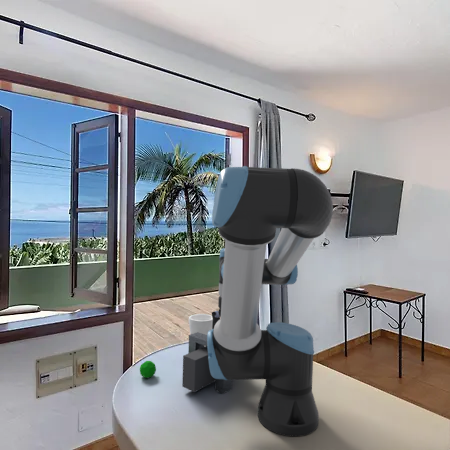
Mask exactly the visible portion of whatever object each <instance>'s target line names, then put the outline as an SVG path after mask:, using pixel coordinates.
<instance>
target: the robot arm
mask: <svg viewBox="0 0 450 450" xmlns="http://www.w3.org/2000/svg"><path fill="white" fill-rule="evenodd" d="M212 206H213V207H212V214H211V216H212V217H211V224H212V226H213V227H216V228H218V234H219V236H220V237H221V238H222V239H223V240H224V242H225V243H224V247H223V248H221V249H220V250H219V258H218V260H219V263H218V264H219V265H218V266H219V268H218V269H219V273H218V274H219V276H218V279H219V281H218V295H219V296H218V300H217V301H218V304H217V305H218V308H219V309H218V310H214V311H212V312H211V316H212V318H213V323H212V330H209V331H208V334H207V346H208V360H209V369H210V373H211V376H212V377H213V378H215V379H225V380H232V381H234V380H235V381H236V380H237V381H239V380H240V381H241V380H243V381H244V380H247V381H248V380H265V386H264V387H263V391H262V394H261V396H260V398H259V402H258V405H257V418H258V421H259V422H260V424H261V425H262V426H263V427H265V428H266V429H267V430H269V431H271V432H273V433H276V434H279V435H283V436H287V437H302V436H307V435H309V434H312V433H313V432H314V431H316V430H317V428H318V426H319V411H318V407H317V404H316V401H315V397H314V393H313V376H314V375H313V373H314V371H313V370H314V369H313V368H314V353H315V349H314V338H313V336H312V334H311V332H309V331H308V330H307V329H306V328H303V327H301V326H298V325H296V324H292V323H288V322H281V321H280V322H278V321H275V322H270V323H268V324H267V326H266V329H263V330H262V329H261V327H260V325H259V323H258V315H259V314H258V313H259V309H260V308H259V307H260V299H261V293H262V292H261V291H262V290H261V289H262V285H271V286H272V285H277V286H285V285H294V284H296V282H297V278H298V274H299V271H298V270H299V269H298V263H299V262H300V260H301V259H302V257H303V256H304V254H305V253H306V251H307V249H308V248H309V247H310V245H312V242H313V241H314V239H316V238H319V237H321V236H322V235H323V234H324V233H325V231H326V230H327V228H328V227H329V226H330V223H331V222H332V219H333V214H334V204H333V199H332V195H331V193H330V190H329V189H328V187H327V186H326V184H325V183H324V182H323V181H322V180H321V179H320V178H319V177H318V176H316V175H315V174H314V173H312V172H310V171H307V170H305V169H301V168H280V167H279V168H278V167H276V168H275V167H258V166H257V167H256V166H247V165H243V166H230V167H229V166H228V167H225V168H224V169H222V170H221V171H220V173H219V175H218V178H217V182H216V187H215V191H214V199H213V205H212ZM277 229H280V232H279V234H278V236H277V238H276V241H275V243H274V245H273V247H272V250H271V251H270V254H269V257H267V258H265V257H266V250H267V245H268V244H270V243H272V242H273V241H274V240H275V237H276V232H277Z"/></svg>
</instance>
